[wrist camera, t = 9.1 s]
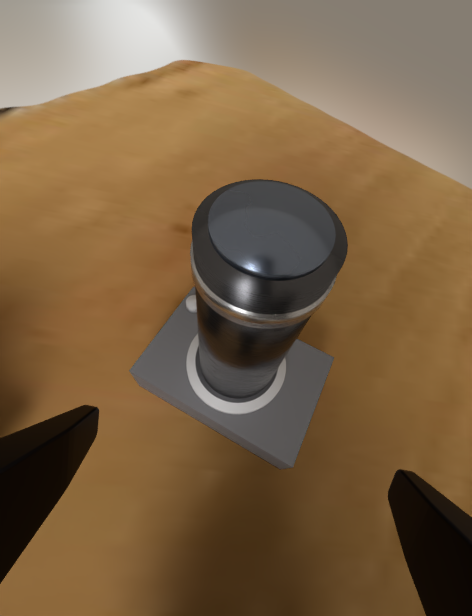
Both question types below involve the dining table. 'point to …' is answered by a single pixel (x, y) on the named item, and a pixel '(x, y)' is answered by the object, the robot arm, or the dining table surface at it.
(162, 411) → the dining table surface
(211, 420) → the grey rectangular block
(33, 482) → the robot arm
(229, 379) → the dark grey cylinder
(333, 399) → the dining table surface
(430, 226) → the dining table surface
